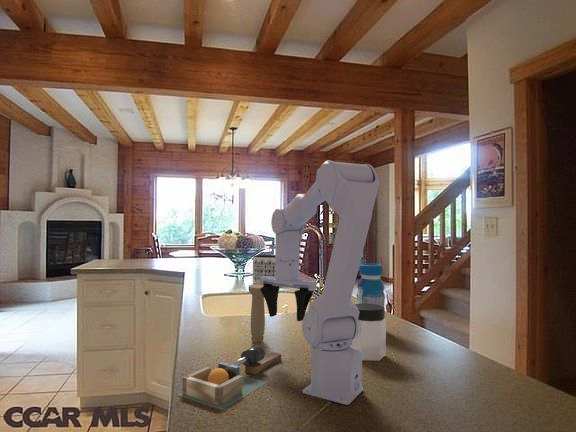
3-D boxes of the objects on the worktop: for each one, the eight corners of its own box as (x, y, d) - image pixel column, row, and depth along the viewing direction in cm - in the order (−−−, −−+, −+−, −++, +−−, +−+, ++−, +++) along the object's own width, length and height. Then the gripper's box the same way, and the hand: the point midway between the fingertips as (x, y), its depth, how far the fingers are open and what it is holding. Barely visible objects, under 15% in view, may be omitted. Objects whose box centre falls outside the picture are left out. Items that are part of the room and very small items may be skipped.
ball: (232, 366, 76) (218, 376, 73) (234, 386, 77) (220, 397, 73) (216, 362, 78) (202, 372, 75) (218, 381, 79) (204, 391, 75)
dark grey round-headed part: (250, 364, 88) (250, 343, 88) (267, 369, 86) (267, 347, 86) (218, 381, 79) (218, 357, 79) (236, 386, 77) (236, 362, 77)
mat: (267, 383, 80) (267, 382, 80) (222, 411, 68) (222, 410, 68) (225, 372, 85) (225, 370, 85) (176, 396, 73) (176, 394, 73)
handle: (260, 337, 111) (261, 284, 111) (270, 343, 105) (271, 287, 106) (244, 339, 109) (245, 285, 109) (253, 346, 103) (254, 288, 103)
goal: (242, 392, 75) (242, 376, 75) (219, 405, 69) (219, 388, 69) (206, 381, 79) (206, 366, 79) (182, 393, 74) (182, 377, 74)
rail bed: (281, 360, 93) (281, 353, 93) (254, 375, 84) (254, 367, 84) (271, 358, 94) (272, 351, 94) (245, 372, 85) (245, 365, 85)
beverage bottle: (373, 336, 114) (374, 266, 114) (350, 329, 120) (351, 264, 120) (390, 331, 119) (390, 265, 120) (367, 325, 126) (368, 262, 126)
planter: (272, 286, 198) (272, 258, 199) (246, 283, 206) (246, 256, 207) (288, 282, 212) (288, 256, 212) (263, 280, 220) (263, 254, 220)
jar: (381, 350, 101) (382, 303, 102) (389, 361, 93) (390, 310, 93) (346, 349, 101) (347, 302, 102) (351, 360, 93) (352, 309, 94)
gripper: (322, 261, 93) (321, 318, 93) (271, 257, 101) (270, 310, 100) (308, 263, 87) (307, 325, 87) (254, 259, 95) (254, 316, 94)
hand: (286, 318), depth 93 cm, fingers open, 7 cm apart
